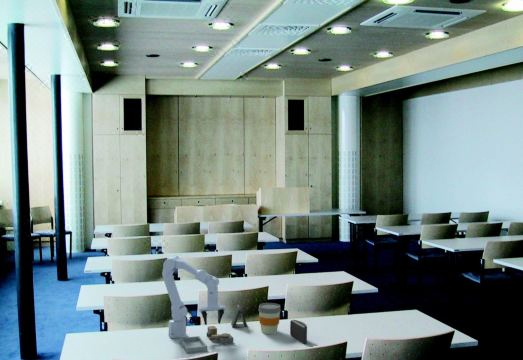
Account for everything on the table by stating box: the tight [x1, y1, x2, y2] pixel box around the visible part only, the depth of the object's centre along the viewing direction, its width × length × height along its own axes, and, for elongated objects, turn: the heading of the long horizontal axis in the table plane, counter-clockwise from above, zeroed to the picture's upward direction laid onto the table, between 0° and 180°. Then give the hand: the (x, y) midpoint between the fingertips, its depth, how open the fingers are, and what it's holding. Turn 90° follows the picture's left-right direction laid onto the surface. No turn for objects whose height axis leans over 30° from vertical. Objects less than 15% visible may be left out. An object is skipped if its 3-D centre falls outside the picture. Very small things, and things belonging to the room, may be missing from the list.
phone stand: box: [230, 304, 249, 329], centre depth 349 cm, size 9×6×12 cm, turn 99°
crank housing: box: [216, 333, 234, 346], centre depth 325 cm, size 7×14×3 cm, turn 20°
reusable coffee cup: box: [258, 302, 282, 335], centre depth 339 cm, size 13×13×15 cm
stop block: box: [207, 325, 218, 341], centre depth 327 cm, size 4×5×6 cm
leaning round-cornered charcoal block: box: [289, 319, 308, 345], centre depth 327 cm, size 16×5×9 cm, turn 26°
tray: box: [179, 335, 208, 354], centre depth 313 cm, size 11×17×2 cm, turn 20°
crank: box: [206, 331, 230, 339], centre depth 320 cm, size 12×4×3 cm, turn 110°
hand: (212, 323), depth 327 cm, fingers open, 7 cm apart
